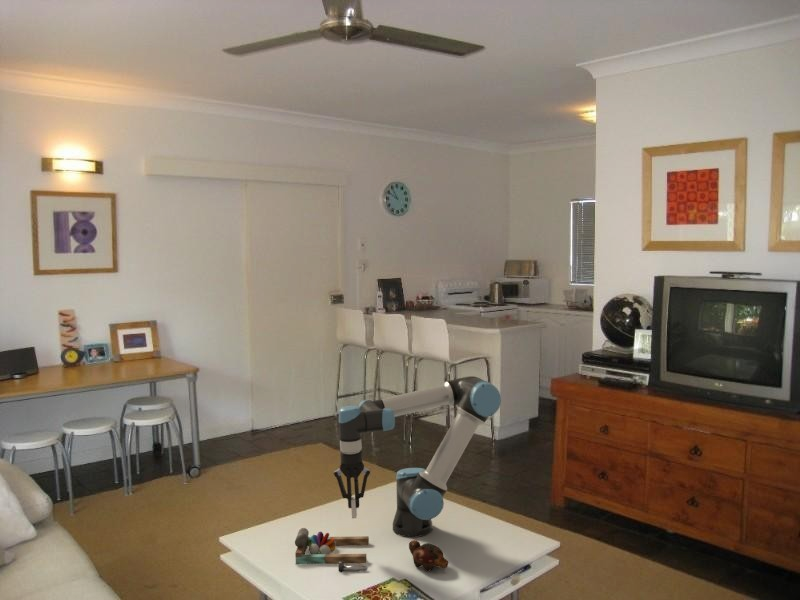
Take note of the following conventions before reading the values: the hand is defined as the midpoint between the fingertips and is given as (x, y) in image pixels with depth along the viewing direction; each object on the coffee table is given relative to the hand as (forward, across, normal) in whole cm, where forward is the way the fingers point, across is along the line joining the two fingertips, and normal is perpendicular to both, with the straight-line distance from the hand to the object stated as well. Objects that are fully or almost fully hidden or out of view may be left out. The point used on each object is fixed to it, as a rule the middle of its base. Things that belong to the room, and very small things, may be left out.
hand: (354, 516), depth 234 cm
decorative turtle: (+14, -25, +11) cm, 31 cm away
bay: (+13, +8, 0) cm, 15 cm away
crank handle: (+13, 0, +13) cm, 19 cm away
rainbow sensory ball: (+13, +12, -1) cm, 18 cm away
